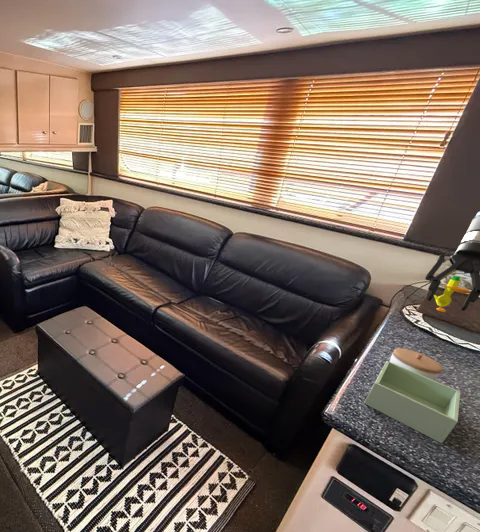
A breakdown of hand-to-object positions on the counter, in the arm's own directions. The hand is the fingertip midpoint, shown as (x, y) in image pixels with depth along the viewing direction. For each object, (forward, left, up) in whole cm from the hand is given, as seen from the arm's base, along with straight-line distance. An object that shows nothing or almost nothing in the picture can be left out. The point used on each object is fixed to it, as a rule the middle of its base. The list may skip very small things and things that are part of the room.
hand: (446, 303), depth 100 cm
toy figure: (0, -4, -4) cm, 5 cm away
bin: (-2, +34, -22) cm, 41 cm away
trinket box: (0, +17, -23) cm, 28 cm away
